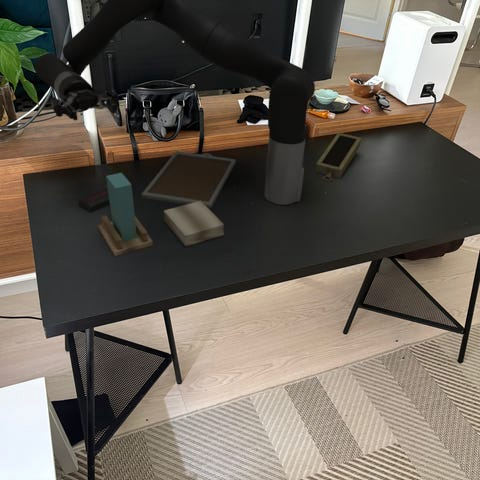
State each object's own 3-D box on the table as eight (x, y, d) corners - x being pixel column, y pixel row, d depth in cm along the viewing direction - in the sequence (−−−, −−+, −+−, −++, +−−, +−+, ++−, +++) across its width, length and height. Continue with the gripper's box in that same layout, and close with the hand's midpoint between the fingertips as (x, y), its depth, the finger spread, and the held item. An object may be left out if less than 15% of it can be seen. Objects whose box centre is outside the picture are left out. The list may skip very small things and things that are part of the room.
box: (360, 150, 153) (362, 136, 150) (337, 191, 139) (339, 177, 135) (335, 145, 156) (336, 131, 152) (310, 184, 142) (311, 170, 138)
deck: (200, 210, 123) (200, 200, 121) (223, 234, 115) (223, 224, 113) (164, 220, 119) (163, 210, 117) (185, 246, 111) (185, 235, 109)
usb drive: (79, 206, 123) (77, 197, 122) (118, 190, 131) (117, 181, 129) (90, 214, 121) (89, 205, 119) (129, 197, 128) (128, 188, 126)
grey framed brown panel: (140, 194, 127) (178, 147, 151) (141, 199, 128) (178, 152, 152) (211, 205, 124) (238, 155, 147) (211, 210, 125) (237, 160, 148)
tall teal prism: (127, 224, 115) (121, 172, 107) (137, 237, 111) (131, 184, 103) (113, 228, 113) (106, 176, 105) (122, 242, 109) (115, 188, 101)
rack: (134, 219, 119) (133, 207, 117) (153, 244, 111) (152, 232, 109) (98, 228, 115) (96, 216, 113) (115, 256, 107) (113, 243, 105)
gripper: (40, 79, 110) (58, 100, 99) (100, 71, 117) (124, 90, 105) (47, 111, 115) (65, 135, 104) (105, 101, 121) (128, 123, 110)
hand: (95, 112), depth 105 cm, fingers open, 8 cm apart
